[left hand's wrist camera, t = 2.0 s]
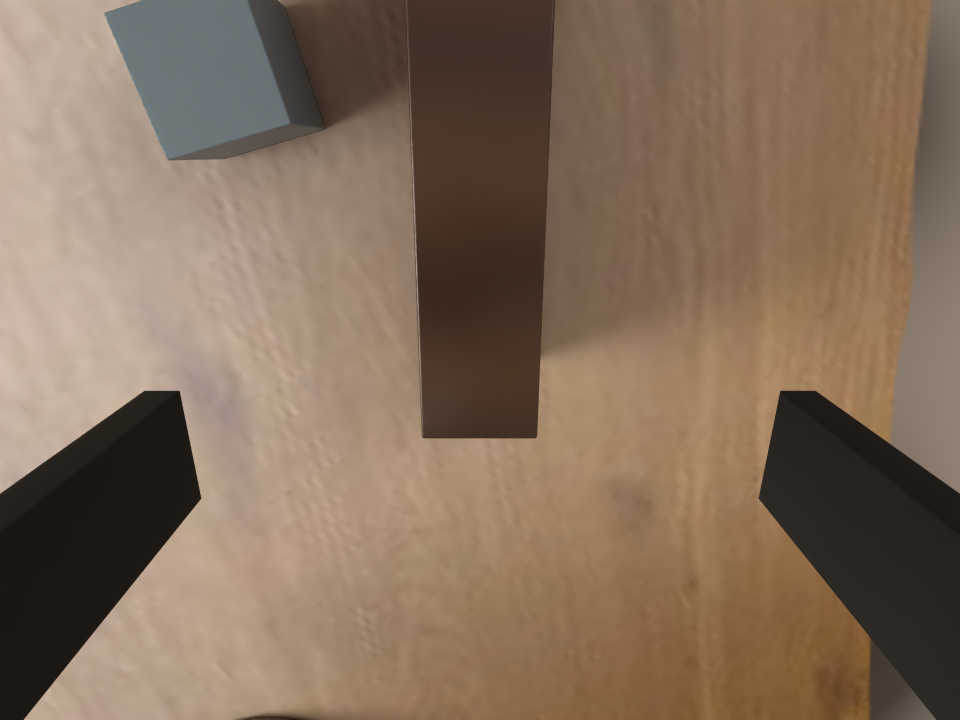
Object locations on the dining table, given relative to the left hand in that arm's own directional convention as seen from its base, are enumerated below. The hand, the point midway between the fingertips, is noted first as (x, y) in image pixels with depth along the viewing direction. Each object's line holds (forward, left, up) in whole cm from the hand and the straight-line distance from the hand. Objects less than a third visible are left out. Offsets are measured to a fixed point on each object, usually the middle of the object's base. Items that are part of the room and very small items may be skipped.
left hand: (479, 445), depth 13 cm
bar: (+9, 0, -16) cm, 19 cm away
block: (+9, +10, -16) cm, 21 cm away
